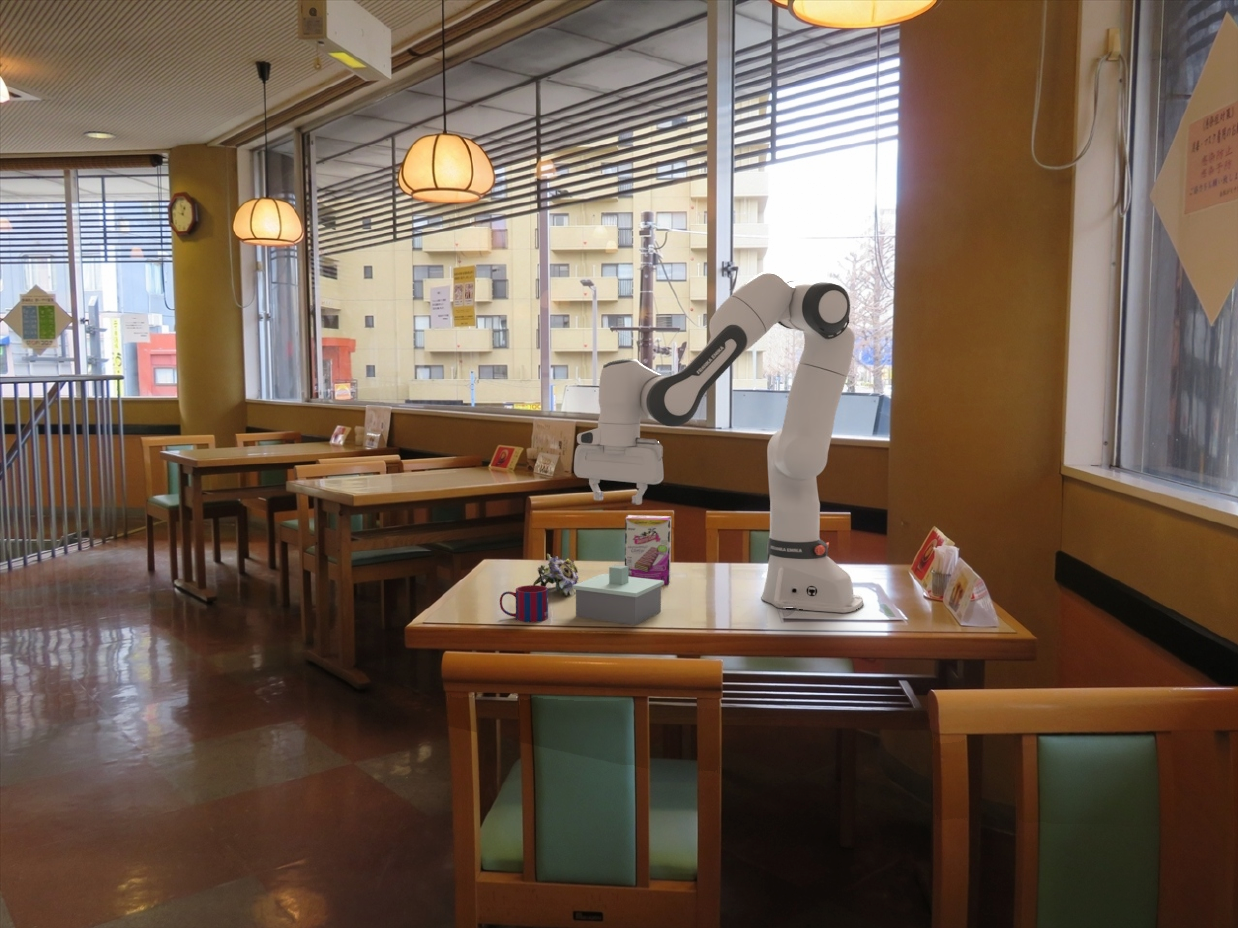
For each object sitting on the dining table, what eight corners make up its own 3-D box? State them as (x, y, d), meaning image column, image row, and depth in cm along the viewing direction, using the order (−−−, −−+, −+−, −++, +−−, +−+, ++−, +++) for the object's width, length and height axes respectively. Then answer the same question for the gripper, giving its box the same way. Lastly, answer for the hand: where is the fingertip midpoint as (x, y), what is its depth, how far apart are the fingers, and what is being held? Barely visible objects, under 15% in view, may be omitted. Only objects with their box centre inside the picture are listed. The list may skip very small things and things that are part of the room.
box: (660, 614, 203) (660, 584, 202) (635, 627, 192) (635, 596, 192) (603, 606, 210) (603, 577, 209) (575, 619, 199) (575, 588, 198)
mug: (546, 624, 195) (546, 592, 194) (498, 624, 195) (497, 592, 194) (549, 616, 201) (549, 585, 201) (502, 616, 201) (502, 585, 201)
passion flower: (570, 620, 219) (570, 585, 211) (525, 609, 221) (524, 575, 213) (584, 584, 227) (585, 550, 219) (541, 574, 229) (540, 540, 221)
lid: (664, 589, 203) (664, 564, 202) (636, 602, 191) (636, 576, 191) (602, 582, 210) (602, 557, 209) (572, 594, 198) (572, 568, 198)
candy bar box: (624, 584, 231) (624, 517, 230) (626, 579, 236) (626, 514, 235) (670, 585, 230) (670, 518, 229) (670, 580, 235) (671, 515, 234)
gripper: (669, 438, 196) (668, 504, 197) (586, 433, 206) (585, 496, 208) (655, 440, 191) (653, 508, 192) (570, 434, 201) (569, 499, 202)
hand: (617, 502), depth 200 cm, fingers open, 8 cm apart
